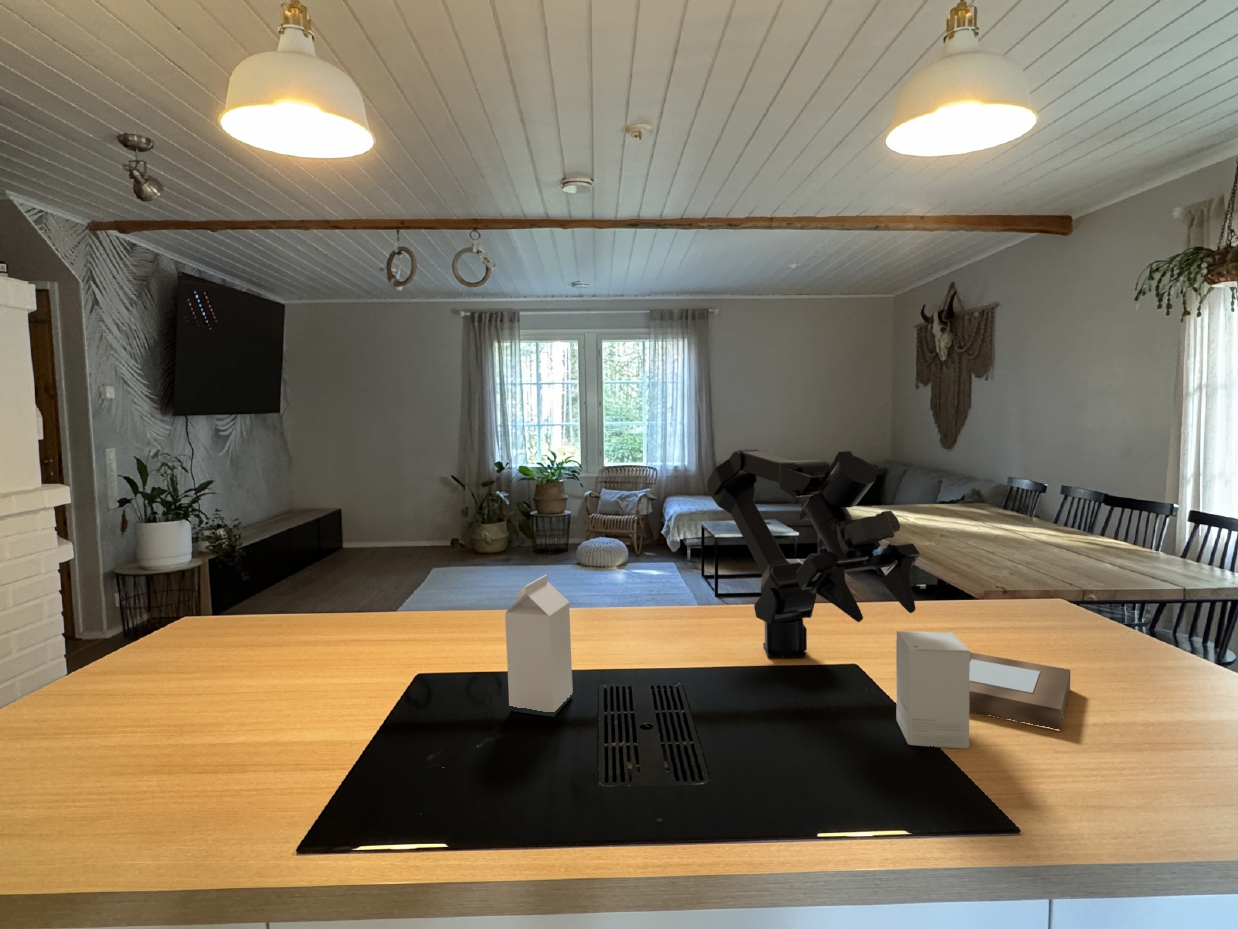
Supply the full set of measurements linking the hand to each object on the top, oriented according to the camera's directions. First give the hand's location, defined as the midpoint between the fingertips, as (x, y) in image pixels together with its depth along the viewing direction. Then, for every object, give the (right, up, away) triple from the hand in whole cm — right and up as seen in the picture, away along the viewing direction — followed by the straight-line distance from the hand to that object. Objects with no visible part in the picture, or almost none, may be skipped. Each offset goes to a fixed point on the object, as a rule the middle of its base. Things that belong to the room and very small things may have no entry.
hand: (887, 616), depth 94 cm
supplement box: (+3, -14, -6) cm, 16 cm away
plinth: (+18, -13, +4) cm, 22 cm away
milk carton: (-49, -15, +6) cm, 52 cm away
